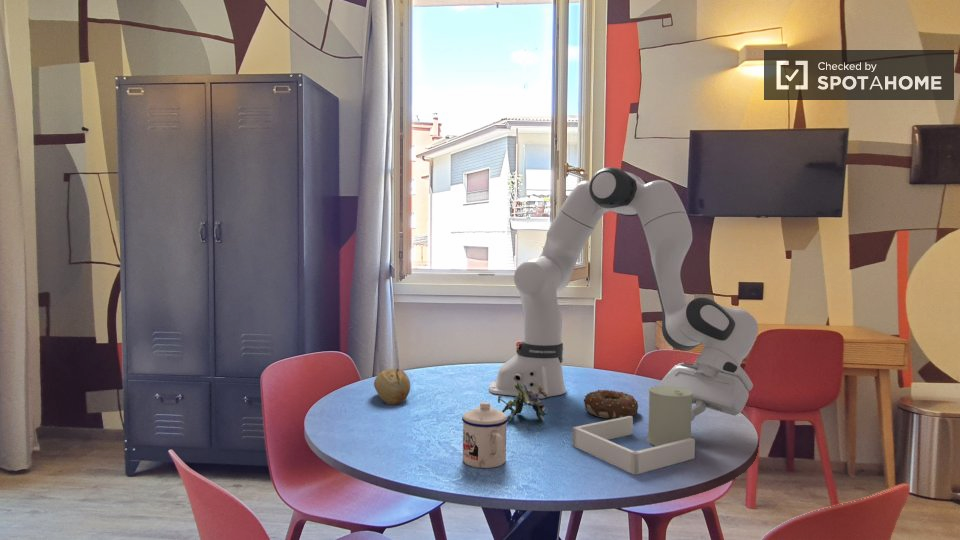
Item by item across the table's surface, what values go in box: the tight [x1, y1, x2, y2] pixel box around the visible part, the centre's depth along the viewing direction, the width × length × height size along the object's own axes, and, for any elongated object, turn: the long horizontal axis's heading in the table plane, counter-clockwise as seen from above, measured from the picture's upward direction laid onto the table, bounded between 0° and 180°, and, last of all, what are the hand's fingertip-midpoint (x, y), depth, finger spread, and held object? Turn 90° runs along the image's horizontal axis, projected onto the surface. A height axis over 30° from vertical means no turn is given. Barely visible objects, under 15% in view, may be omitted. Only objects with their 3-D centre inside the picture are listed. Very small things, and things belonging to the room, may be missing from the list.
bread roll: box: [373, 368, 411, 406], centre depth 160 cm, size 10×15×8 cm, turn 21°
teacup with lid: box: [461, 401, 509, 469], centre depth 115 cm, size 12×9×12 cm
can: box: [646, 385, 693, 447], centre depth 128 cm, size 9×9×12 cm
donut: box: [583, 389, 639, 420], centre depth 150 cm, size 14×14×5 cm
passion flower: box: [497, 382, 548, 423], centre depth 142 cm, size 11×11×12 cm
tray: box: [571, 416, 696, 476], centre depth 122 cm, size 17×18×4 cm
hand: (685, 417), depth 131 cm, fingers closed, pressing on can
